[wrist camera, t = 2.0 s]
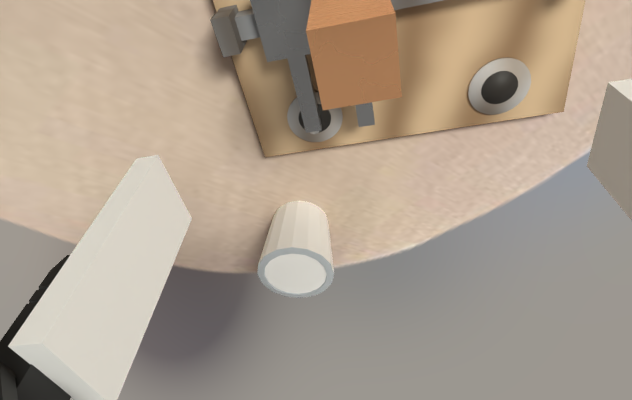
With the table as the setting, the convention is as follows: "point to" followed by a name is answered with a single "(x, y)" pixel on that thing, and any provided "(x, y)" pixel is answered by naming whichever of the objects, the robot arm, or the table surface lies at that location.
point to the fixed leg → (290, 49)
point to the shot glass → (297, 251)
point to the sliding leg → (354, 54)
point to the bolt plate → (420, 70)
